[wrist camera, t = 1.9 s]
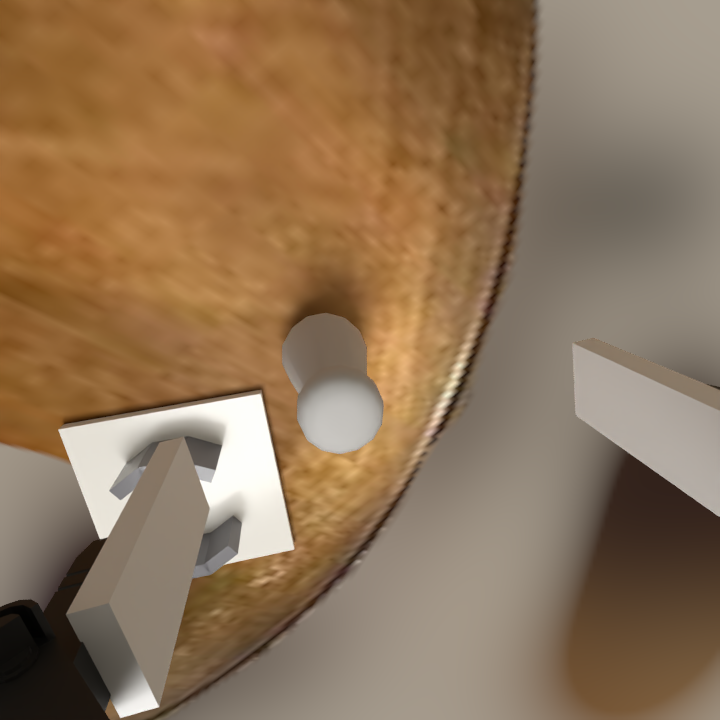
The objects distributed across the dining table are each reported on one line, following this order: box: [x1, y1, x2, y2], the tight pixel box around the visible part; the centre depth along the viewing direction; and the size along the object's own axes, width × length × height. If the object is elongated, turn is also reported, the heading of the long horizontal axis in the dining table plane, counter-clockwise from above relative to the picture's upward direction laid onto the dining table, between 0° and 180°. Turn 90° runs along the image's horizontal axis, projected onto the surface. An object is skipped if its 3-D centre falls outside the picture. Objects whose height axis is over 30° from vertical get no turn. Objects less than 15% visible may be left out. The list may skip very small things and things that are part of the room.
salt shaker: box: [282, 313, 383, 454], centre depth 28 cm, size 6×6×13 cm
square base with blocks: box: [58, 390, 294, 578], centre depth 34 cm, size 14×14×4 cm
